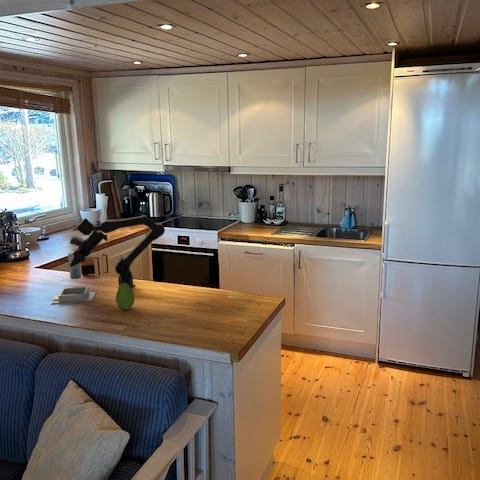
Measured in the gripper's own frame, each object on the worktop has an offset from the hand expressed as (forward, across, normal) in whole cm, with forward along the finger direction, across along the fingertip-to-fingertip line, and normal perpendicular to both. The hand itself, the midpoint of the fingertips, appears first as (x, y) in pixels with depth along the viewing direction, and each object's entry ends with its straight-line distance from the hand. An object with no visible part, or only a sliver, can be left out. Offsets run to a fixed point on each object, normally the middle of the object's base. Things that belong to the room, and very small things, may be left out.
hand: (71, 264), depth 234 cm
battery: (+9, -32, +10) cm, 35 cm away
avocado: (-10, +30, +30) cm, 44 cm away
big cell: (+4, 0, +6) cm, 7 cm away
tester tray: (+8, +11, +11) cm, 17 cm away
